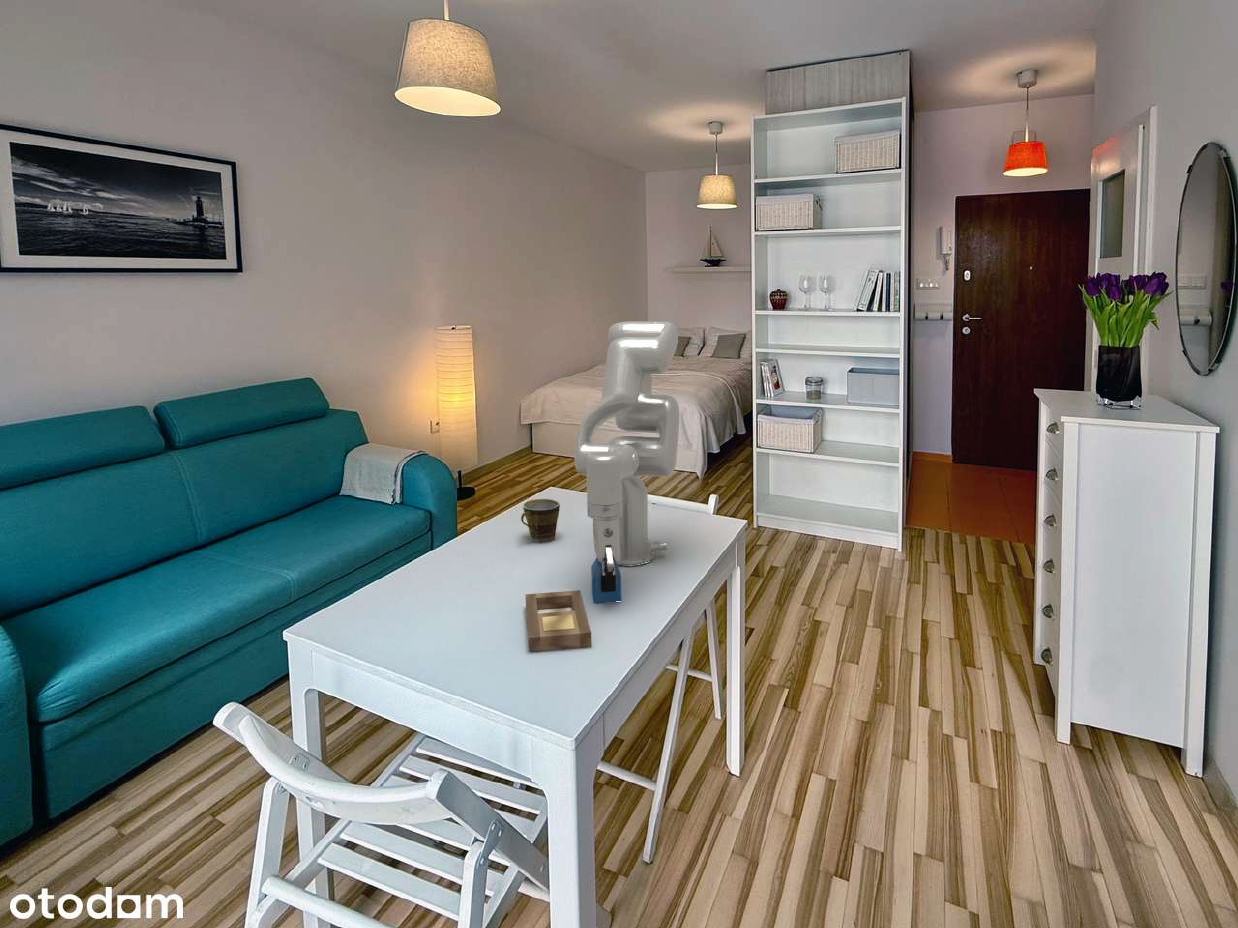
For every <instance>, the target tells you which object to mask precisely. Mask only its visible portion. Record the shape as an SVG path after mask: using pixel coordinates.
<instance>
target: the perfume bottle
mask: <svg viewBox="0 0 1238 928" xmlns="http://www.w3.org/2000/svg"><path fill="white" fill-rule="evenodd" d="M603 561H607V560H606V559H603ZM614 564H615V574H616V591H614V592H602V591H601V574H602V566H601V563H600V562H599V561H598V559H597V557H595V559H594V561H593V563H592V564H591V567H590V568H591V570H590V571H591V595H592V597H591V598H592V603H596V604H606V603H605V602H616V601H621V602H622V576H621V571H620V566H618V564H617V562H616V561H615V558H614ZM604 566H605V567H607V564H604ZM616 603H617V602H616Z"/></svg>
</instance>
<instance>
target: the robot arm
mask: <svg viewBox="0 0 1238 928" xmlns="http://www.w3.org/2000/svg"><path fill="white" fill-rule="evenodd" d="M607 335H608V337H607V338H608V344H609V346H608V348H607V351H606V360H605V369H604V377H603V385H602V392H601V398H600V400H599V401H598V402H597V403H596V404H595V405H593V407H592V408H590V410H589V411H588V412H587V413H586V415H585V416H584V418H583V419H582V421H581V423H580V424H579V427H578V431H577V434H576V435H577V436H576V440H575V441H576V442H575V448H574V449H575V450H574V459H573V460H574V468H575V470H576V471H577V472H578V473H579V474H580V475H582V476H584V477H586V496H587V497H586V499H587V501H586V504H587V505H586V506H587V516H588V517H589V518H590V519H592V536H593V537H592V540H593V546H594V547H593V548H594V553H595V555H596V558H597V559H598V561H599V562H600V563H601V566H602V574H601V591H602V592H614V591H616V574H615V564H614V558H615V561H616V562H617V564H618V565H623V566H622V567H630V566H629V565H638V564H642V563H645V562H648V561H650V560H652V559H653V560H654V558H655V554H654V553H655V551H659V552H660V551H666V550H667V543H666V542H660V540H653V541H652V540H650V539H649V536H648V535H649V534H648V533H649V523H648V518H649V515H648V514H649V513H648V510H649V509H648V508H649V507H648V506H649V505H648V502H649V501H648V500H649V499H648V498H649V496H648V490H647V489H648V488H647V486H646V485H645V482H644V481H643V480H642V479H641V477H644V476H646V477H647V476H648V477H668V476H671V475H672V474H673V473H674V471H675V468H676V464H677V456H678V445H679V443H678V442H679V431H680V406H679V403H678V400H677V399H676V398H675V397H673V396H672V395H668V394H652V388H653V375H662V374H665V373H666V372H667V370H668V369H669V367H670V365H671V363H672V360H673V358H674V355H675V354H676V351H677V348H678V344H679V334H678V330H677V327H676V325H675V324H674V323H672V322H670V321H643V320H642V321H638V320H636V321H635V320H633V321H622V322H617V323H614V324H612V325H611V326H610V327H609V329H608V333H607ZM613 418H615V419H614V421H615V425H616V427H617V428H618V429H619V430H621V431H623V432H630V433H645V434H658V435H659V437H658V436H656V437H655V436H639V435H638V436H637V435H621V436H615V437H613V438H611V439H610V440H609V441H608V442H607V443H601V442H600V443H599V442H597V443H596V442H592V441H593V440H592V439H593V436H594V433H595V432H596V431H597V429H599V427H600V426H601V425H603V424H604V423H606V422H607V421H609V420H611V419H613ZM653 557H654V558H653ZM603 559H606V560H607V561H603ZM653 560H652V561H653ZM650 562H651V561H650ZM604 564H607V567H605V566H604Z"/></svg>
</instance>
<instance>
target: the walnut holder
mask: <svg viewBox="0 0 1238 928" xmlns="http://www.w3.org/2000/svg"><path fill="white" fill-rule="evenodd" d="M525 609H526V610H525V613H526V614H525V615H526V622H527V623H526V625H527V635H528V637H527V638H528V649H529V653H535V652H536V653H537V652H547V651H558V650H559V649H560V650H569V649H579V648H590V647H592V631H591V626H590V623H589V619H588V615H587V610H586V607H585V603H584V600H583V596H582V592H581V589H578V590H577V589H576V590H564V591H552V592H541V593H540V592H539V593H537V592H536V593H525ZM560 650H559V651H560Z"/></svg>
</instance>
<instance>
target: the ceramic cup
mask: <svg viewBox="0 0 1238 928" xmlns="http://www.w3.org/2000/svg"><path fill="white" fill-rule="evenodd" d="M560 506H561V503H560V501H558V500H556V499H551V498H538V499H537V498H535V499H531V500H528V501H527V500H526V501H525V502H524V503H523V504H522V509H523V513H522V514H521V518H520V521H521V523H522V524H523V525H525V526H527V528H528V531H529V536H530V540H531V542H533V543H536V544H545V543H550V542H553V541H554V540H556V532H557V525H558V520H559V515H560V508H561V507H560ZM524 518H525V520H526V522H525V521H524Z"/></svg>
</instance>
